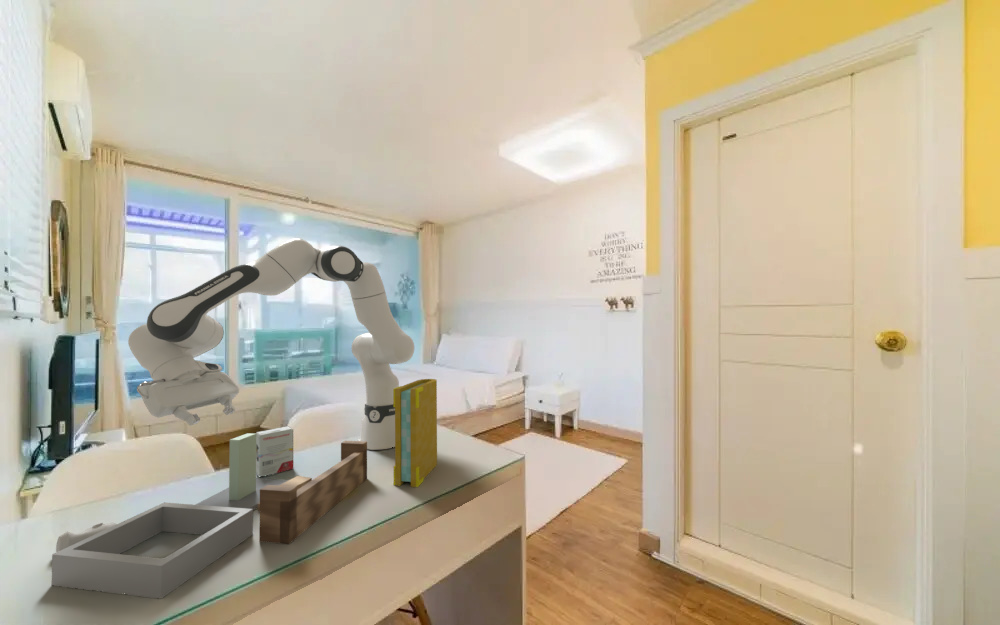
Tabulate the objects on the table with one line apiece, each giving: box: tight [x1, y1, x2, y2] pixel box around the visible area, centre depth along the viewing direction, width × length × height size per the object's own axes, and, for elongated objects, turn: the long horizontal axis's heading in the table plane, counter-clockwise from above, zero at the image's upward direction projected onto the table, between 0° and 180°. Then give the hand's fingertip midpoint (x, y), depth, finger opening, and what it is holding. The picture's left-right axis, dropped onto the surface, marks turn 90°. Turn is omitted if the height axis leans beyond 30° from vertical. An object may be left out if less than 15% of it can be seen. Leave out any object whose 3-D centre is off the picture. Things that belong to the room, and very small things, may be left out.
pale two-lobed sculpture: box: [55, 522, 118, 553], centre depth 69 cm, size 4×8×5 cm
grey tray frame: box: [51, 502, 254, 600], centre depth 65 cm, size 17×21×5 cm
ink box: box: [255, 425, 294, 478], centre depth 103 cm, size 9×5×12 cm, turn 134°
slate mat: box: [194, 477, 290, 511], centre depth 86 cm, size 18×14×1 cm
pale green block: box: [228, 432, 257, 500], centre depth 87 cm, size 5×2×14 cm, turn 172°
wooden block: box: [257, 475, 313, 512], centre depth 86 cm, size 12×5×4 cm, turn 163°
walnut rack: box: [258, 440, 368, 545], centre depth 83 cm, size 29×6×10 cm, turn 172°
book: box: [393, 378, 438, 488], centre depth 101 cm, size 17×7×25 cm, turn 168°
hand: (214, 417), depth 88 cm, fingers open, 8 cm apart
